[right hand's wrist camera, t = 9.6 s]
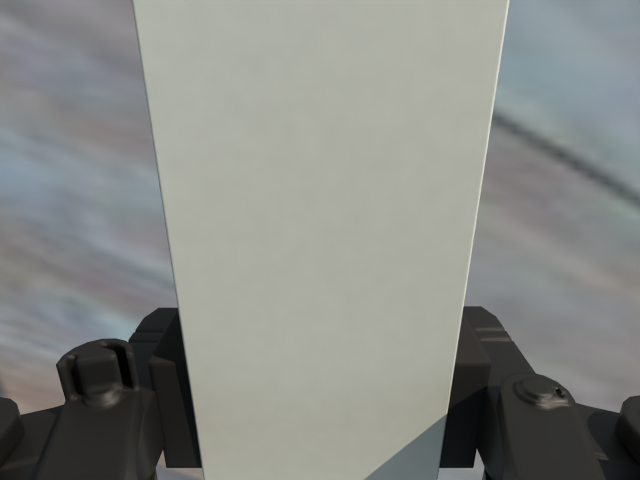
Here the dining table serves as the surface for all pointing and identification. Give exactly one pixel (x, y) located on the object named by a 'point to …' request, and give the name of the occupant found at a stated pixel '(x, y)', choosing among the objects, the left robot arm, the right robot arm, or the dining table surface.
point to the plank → (320, 221)
